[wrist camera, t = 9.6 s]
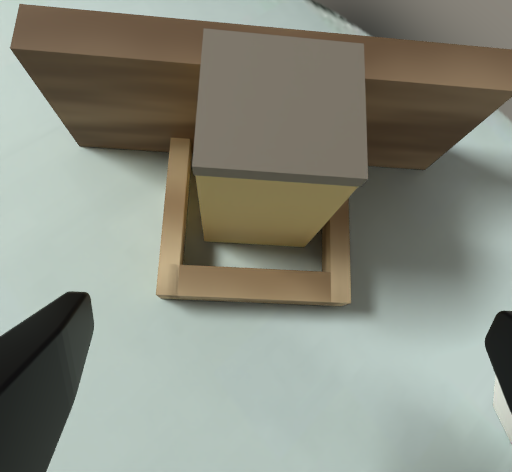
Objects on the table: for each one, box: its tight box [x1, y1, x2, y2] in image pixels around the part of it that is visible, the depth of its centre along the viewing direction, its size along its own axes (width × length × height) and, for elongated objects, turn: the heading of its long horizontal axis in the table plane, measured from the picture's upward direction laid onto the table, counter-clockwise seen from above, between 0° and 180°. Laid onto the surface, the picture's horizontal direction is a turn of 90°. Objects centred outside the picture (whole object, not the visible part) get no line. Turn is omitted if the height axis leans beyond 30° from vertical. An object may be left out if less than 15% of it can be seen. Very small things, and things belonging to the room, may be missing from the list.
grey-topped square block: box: [192, 28, 368, 247], centre depth 19 cm, size 5×6×10 cm
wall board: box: [10, 4, 512, 306], centre depth 19 cm, size 10×20×8 cm, turn 88°
